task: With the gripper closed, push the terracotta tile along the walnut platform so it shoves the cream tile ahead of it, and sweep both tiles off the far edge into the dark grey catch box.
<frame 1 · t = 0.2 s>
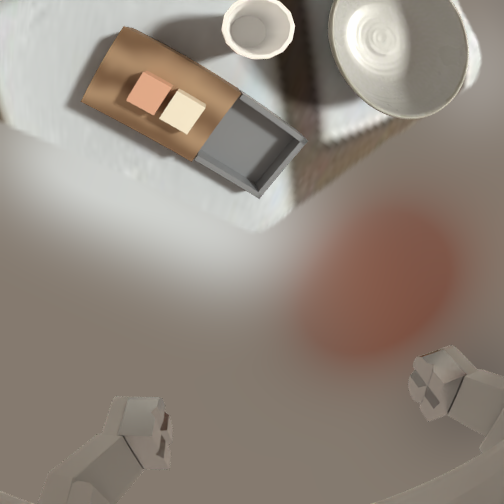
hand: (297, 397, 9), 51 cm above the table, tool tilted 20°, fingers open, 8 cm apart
foam cup: (247, 31, 42), on the table
terracotta tile: (151, 91, 42), point 6 cm above the table, touching walnut platform
walnut platform: (162, 88, 47), on the table
cream tile: (183, 109, 44), point 6 cm above the table, touching walnut platform
decorative bowl: (374, 38, 44), on the table
catch box: (248, 141, 55), on the table
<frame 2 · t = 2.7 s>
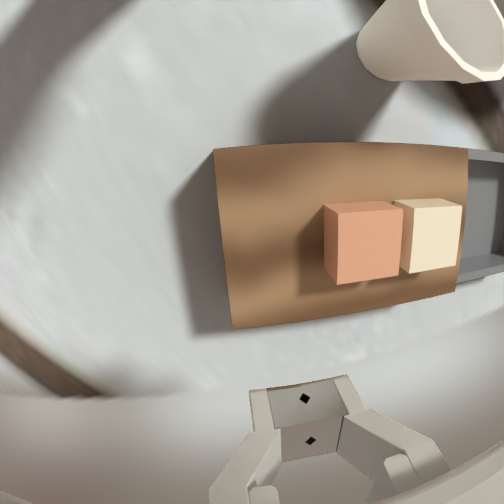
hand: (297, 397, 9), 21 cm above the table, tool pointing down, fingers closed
foam cup: (383, 52, 24), on the table
terracotta tile: (354, 234, 23), point 6 cm above the table, touching walnut platform
walnut platform: (339, 215, 29), on the table
cream tile: (416, 228, 24), point 6 cm above the table, touching walnut platform
catch box: (474, 207, 30), on the table
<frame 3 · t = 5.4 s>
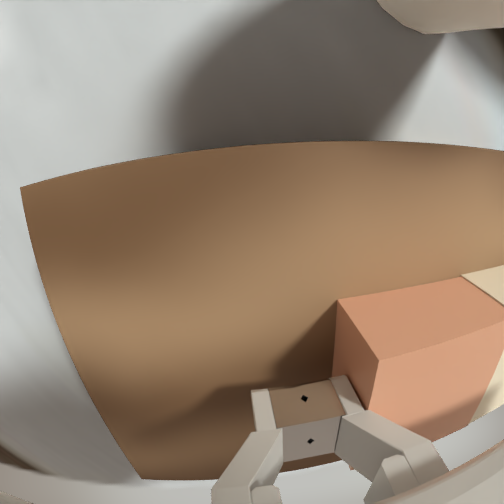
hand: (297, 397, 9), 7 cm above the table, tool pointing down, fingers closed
terracotta tile: (396, 348, 10), point 6 cm above the table, touching cream tile, gripper
walnut platform: (335, 281, 16), on the table
cream tile: (487, 319, 10), point 6 cm above the table, touching terracotta tile
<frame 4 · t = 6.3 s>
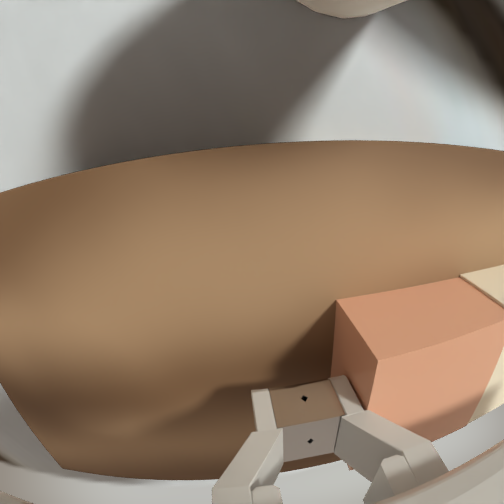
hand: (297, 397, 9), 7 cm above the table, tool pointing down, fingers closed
terracotta tile: (395, 349, 10), point 6 cm above the table, touching cream tile, gripper
walnut platform: (239, 294, 15), on the table
cream tile: (486, 319, 10), point 6 cm above the table, touching terracotta tile, walnut platform
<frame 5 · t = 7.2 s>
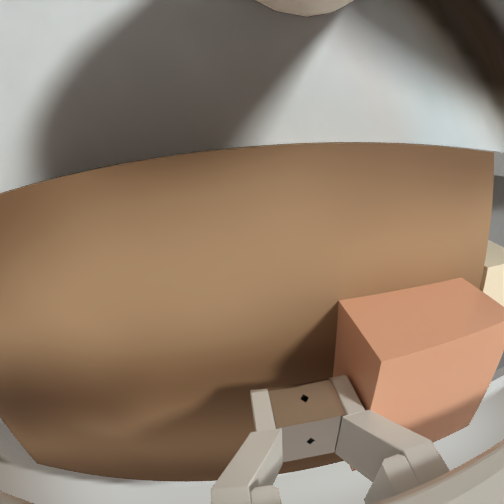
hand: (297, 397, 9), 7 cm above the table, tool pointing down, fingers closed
terracotta tile: (397, 349, 10), point 6 cm above the table, touching gripper
walnut platform: (200, 299, 15), on the table
cream tile: (444, 296, 13), point 3 cm above the table, tilted 90°, touching catch box
catch box: (488, 256, 16), on the table
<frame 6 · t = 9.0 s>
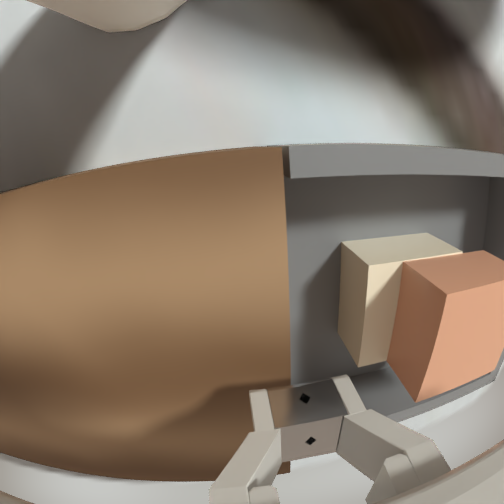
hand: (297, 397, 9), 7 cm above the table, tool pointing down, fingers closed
terracotta tile: (439, 306, 12), point 4 cm above the table, touching cream tile
walnut platform: (65, 310, 15), on the table
cream tile: (413, 311, 12), point 4 cm above the table, tilted 180°, touching catch box, terracotta tile
catch box: (399, 274, 16), on the table
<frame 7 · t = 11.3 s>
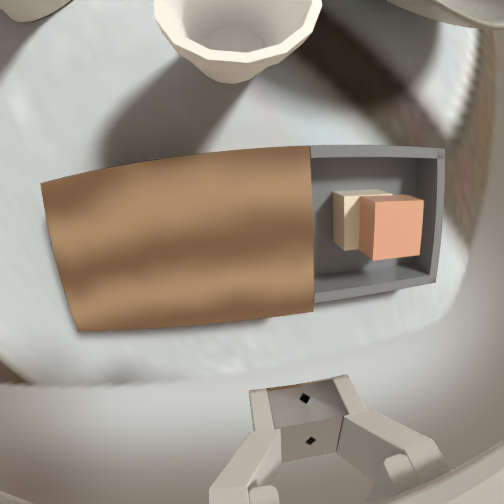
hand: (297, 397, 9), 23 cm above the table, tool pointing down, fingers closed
foam cup: (230, 54, 25), on the table
terracotta tile: (383, 221, 27), point 4 cm above the table, touching cream tile
walnut platform: (182, 229, 30), on the table
cream tile: (369, 222, 27), point 4 cm above the table, tilted 180°, touching catch box, terracotta tile
catch box: (365, 212, 31), on the table
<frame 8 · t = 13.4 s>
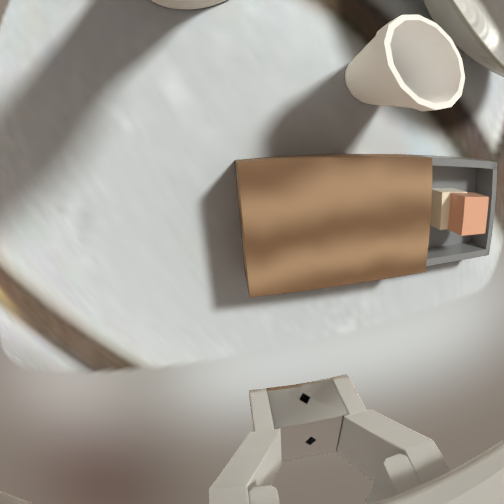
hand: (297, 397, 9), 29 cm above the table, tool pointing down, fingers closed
foam cup: (367, 80, 32), on the table
terracotta tile: (461, 210, 35), point 4 cm above the table, touching cream tile
walnut platform: (330, 211, 37), on the table
cream tile: (454, 210, 35), point 4 cm above the table, tilted 180°, touching catch box, terracotta tile
decorative bowl: (452, 11, 29), on the table
catch box: (445, 204, 39), on the table
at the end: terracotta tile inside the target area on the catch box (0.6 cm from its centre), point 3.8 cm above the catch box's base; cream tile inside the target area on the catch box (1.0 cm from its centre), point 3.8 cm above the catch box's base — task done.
